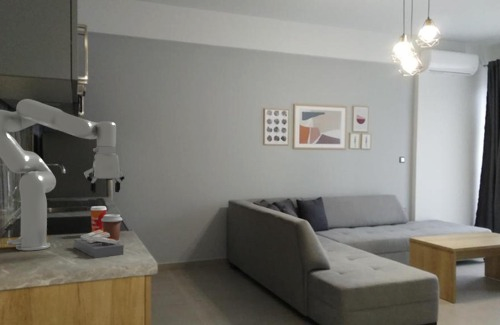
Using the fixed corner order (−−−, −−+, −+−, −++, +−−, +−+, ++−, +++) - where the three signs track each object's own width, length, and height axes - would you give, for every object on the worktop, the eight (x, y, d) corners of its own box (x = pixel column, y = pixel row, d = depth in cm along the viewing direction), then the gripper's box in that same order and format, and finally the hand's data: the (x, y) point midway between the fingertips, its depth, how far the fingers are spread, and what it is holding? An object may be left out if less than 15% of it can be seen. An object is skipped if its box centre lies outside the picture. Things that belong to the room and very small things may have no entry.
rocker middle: (90, 243, 164) (90, 240, 163) (86, 241, 167) (86, 238, 167) (110, 236, 169) (109, 233, 168) (106, 234, 172) (105, 231, 172)
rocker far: (84, 240, 169) (84, 237, 169) (81, 238, 172) (80, 235, 172) (103, 233, 174) (102, 230, 174) (99, 232, 177) (99, 229, 177)
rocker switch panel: (95, 258, 155) (95, 246, 155) (74, 247, 173) (74, 237, 173) (123, 254, 162) (123, 243, 162) (100, 244, 180) (100, 234, 180)
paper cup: (87, 235, 203) (87, 206, 203) (102, 233, 208) (103, 205, 208) (93, 237, 197) (94, 207, 197) (109, 235, 203) (109, 207, 203)
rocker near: (96, 241, 158) (97, 237, 158) (92, 239, 162) (93, 236, 162) (116, 243, 163) (117, 240, 163) (111, 242, 167) (112, 238, 167)
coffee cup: (121, 239, 194) (121, 213, 194) (122, 242, 185) (123, 216, 185) (100, 240, 190) (101, 214, 190) (100, 243, 182) (101, 216, 182)
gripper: (87, 150, 164) (86, 193, 164) (129, 151, 175) (128, 192, 175) (82, 150, 171) (81, 192, 171) (123, 152, 181) (122, 191, 181)
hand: (105, 192), depth 173 cm, fingers open, 9 cm apart
